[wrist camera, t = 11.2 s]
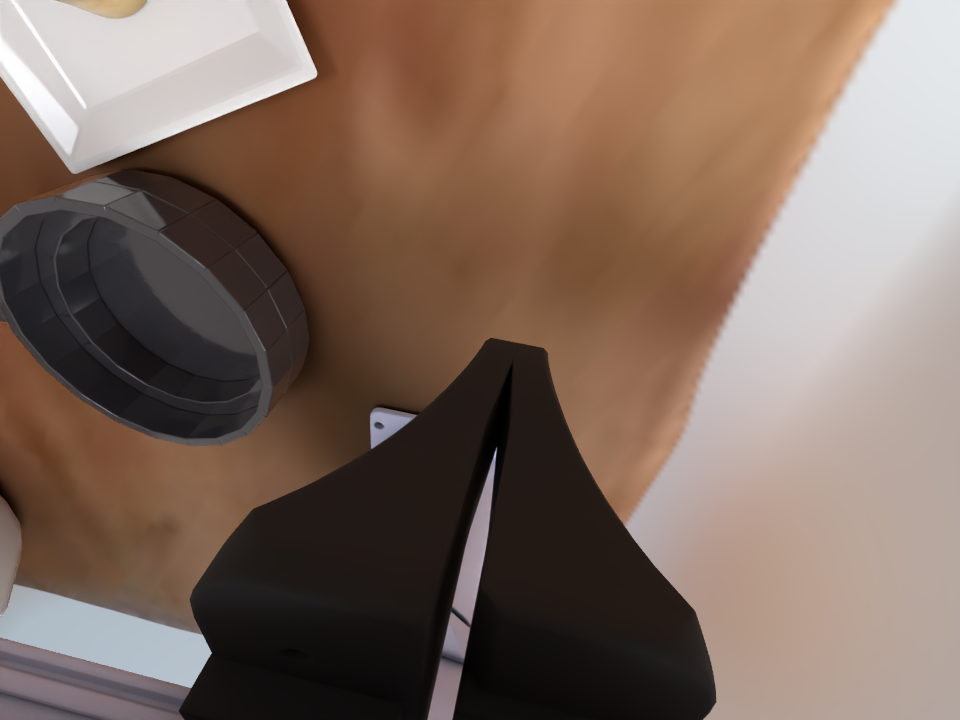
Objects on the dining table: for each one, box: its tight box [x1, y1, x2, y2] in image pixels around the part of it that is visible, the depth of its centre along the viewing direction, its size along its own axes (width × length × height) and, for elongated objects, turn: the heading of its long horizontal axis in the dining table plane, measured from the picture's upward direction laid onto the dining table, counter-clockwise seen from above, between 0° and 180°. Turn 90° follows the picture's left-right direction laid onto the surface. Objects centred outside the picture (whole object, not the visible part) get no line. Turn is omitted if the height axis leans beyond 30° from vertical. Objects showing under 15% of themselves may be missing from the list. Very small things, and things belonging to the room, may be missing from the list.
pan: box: [0, 169, 309, 446], centre depth 23 cm, size 12×12×4 cm
